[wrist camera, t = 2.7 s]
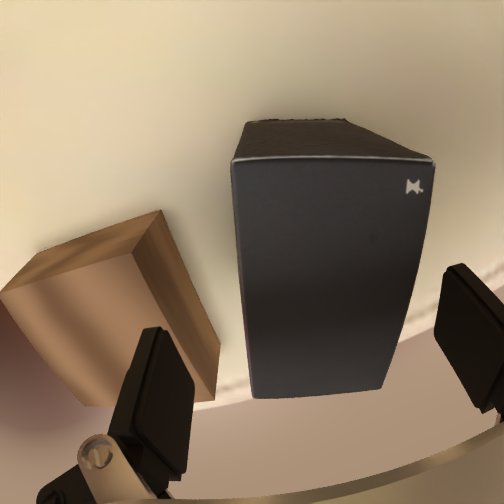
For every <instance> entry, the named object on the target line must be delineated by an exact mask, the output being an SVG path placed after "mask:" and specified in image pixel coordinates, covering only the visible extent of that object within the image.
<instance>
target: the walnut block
mask: <svg viewBox="0 0 504 504" xmlns="http://www.w3.org/2000/svg"><path fill="white" fill-rule="evenodd" d="M0 299H1V300H2V302H3V303H4V305H5V307H6V308H7V309H8V311H9V313H10V314H11V316H12V317H13V319H14V320H15V321H16V323H17V324H18V326H19V327H20V329H21V330H22V332H23V333H24V334H25V336H26V337H27V338H28V340H29V341H30V342H31V344H32V345H33V346H34V348H35V349H36V350H37V352H38V353H39V354H40V356H41V357H42V358H43V359H44V361H45V362H46V363H47V364H48V365H49V366H50V368H51V369H52V370H53V371H54V373H55V374H56V375H57V376H58V377H59V379H60V380H61V381H62V382H63V383H64V384H65V385H66V386H67V388H68V389H69V390H70V391H71V392H72V393H73V394H74V395H75V396H76V397H77V398H78V400H79V401H80V402H81V403H82V404H83V405H84V406H97V407H98V406H99V407H115V406H116V403H117V400H118V397H119V394H120V390H121V387H122V384H123V381H124V378H125V375H126V373H127V371H128V369H129V368H130V365H131V362H132V359H133V356H134V353H135V350H136V347H137V345H138V342H139V339H140V336H141V333H142V331H143V329H144V328H150V327H157V326H161V327H162V328H163V330H167V331H168V332H169V334H170V336H171V338H172V340H173V342H174V344H175V346H176V348H177V350H178V352H179V354H180V356H181V358H182V360H183V362H184V364H185V365H186V367H187V369H188V371H189V373H190V375H191V377H192V379H193V381H194V384H195V396H194V402H204V401H214V400H215V393H216V383H217V373H218V364H219V354H220V345H221V344H220V342H219V340H218V338H217V335H216V333H215V331H214V329H213V327H212V325H211V323H210V321H209V319H208V317H207V314H206V312H205V310H204V308H203V306H202V304H201V302H200V299H199V297H198V295H197V293H196V291H195V288H194V286H193V284H192V282H191V279H190V277H189V275H188V273H187V270H186V268H185V266H184V264H183V261H182V259H181V257H180V254H179V252H178V250H177V247H176V245H175V243H174V240H173V238H172V236H171V233H170V231H169V228H168V226H167V223H166V221H165V219H164V216H163V214H162V211H161V210H158V211H155V212H152V213H149V214H146V215H143V216H140V217H137V218H134V219H131V220H128V221H125V222H122V223H119V224H116V225H113V226H110V227H107V228H104V229H101V230H99V231H96V232H93V233H90V234H88V235H85V236H82V237H79V238H77V239H74V240H71V241H69V242H66V243H63V244H61V245H58V246H55V247H53V248H50V249H48V250H45V251H43V252H40V253H38V254H36V255H35V256H34V257H33V258H32V259H31V260H30V261H29V262H28V263H27V264H26V265H25V266H24V267H23V268H22V269H21V270H20V271H19V272H18V273H17V274H16V275H15V276H14V277H13V278H12V279H11V280H10V281H9V282H8V284H7V285H6V286H5V287H4V288H3V289H2V290H1V291H0Z"/></svg>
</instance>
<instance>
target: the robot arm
mask: <svg viewBox="0 0 504 504" xmlns="http://www.w3.org/2000/svg"><path fill="white" fill-rule="evenodd" d="M434 337H435V339H436V341H437V343H438V344H439V346H440V348H441V349H442V351H443V352H444V354H445V356H446V357H447V359H448V361H449V362H450V364H451V366H452V367H453V369H454V371H455V372H456V374H457V376H458V378H459V379H460V381H461V383H462V385H463V386H464V388H465V390H466V392H467V393H468V395H469V397H470V399H471V401H472V403H473V404H474V406H475V407H476V408H479V409H480V411H481V413H482V414H484V413H486V412H487V411H489V410H491V409H493V408H494V407H495V408H496V410H497V417H496V422H495V426H494V427H492V428H491V429H488V430H487V431H485V432H483V433H481V434H479V435H477V436H475V437H473V438H471V439H469V440H467V441H465V442H462V443H460V444H458V445H456V446H453V447H451V448H449V449H447V450H444V451H442V452H439V453H437V454H435V455H432V456H430V457H427V458H424V459H422V460H419V461H416V462H414V463H411V464H408V465H405V466H402V467H399V468H396V469H393V470H390V471H387V472H383V473H380V474H377V475H373V476H370V477H366V478H362V479H359V480H354V481H350V482H346V483H342V484H337V485H333V486H328V487H323V488H318V489H312V490H307V491H300V492H294V493H287V494H280V495H271V496H261V497H249V498H232V499H203V500H187V499H186V500H185V499H175V498H174V497H173V496H172V494H171V493H170V492H169V491H168V489H167V488H168V484H169V481H181V475H182V474H184V473H185V472H186V469H187V460H188V449H189V440H190V431H191V422H192V413H193V405H194V396H195V384H194V381H193V379H192V377H191V375H190V373H189V371H188V369H187V367H186V365H185V364H184V362H183V360H182V358H181V356H180V354H179V352H178V350H177V348H176V346H175V344H174V342H173V340H172V338H171V336H170V334H169V332H168V331H167V330H163V328H162V327H161V326H157V327H150V328H144V329H143V331H142V333H141V336H140V339H139V342H138V345H137V347H136V350H135V353H134V356H133V359H132V362H131V365H130V368H129V369H128V371H127V373H126V375H125V378H124V381H123V384H122V387H121V390H120V394H119V397H118V400H117V403H116V406H115V410H114V413H113V416H112V420H111V423H110V426H109V430H108V433H107V435H103V434H98V435H94V436H91V437H90V438H88V439H87V440H85V441H84V442H83V444H82V445H81V446H80V448H79V451H78V455H77V460H78V464H77V465H76V466H74V467H73V468H71V469H70V470H68V471H67V472H65V473H64V474H62V475H61V476H59V477H58V478H56V479H55V480H53V481H52V482H50V483H49V484H47V485H45V486H44V487H43V488H42V489H41V490H40V492H39V493H38V496H37V500H36V504H504V304H503V303H502V302H501V301H500V300H499V299H498V298H497V296H495V294H494V293H493V292H492V291H491V290H490V289H489V288H488V287H487V286H486V285H485V284H484V283H483V282H482V281H481V280H480V279H479V278H478V277H477V276H476V275H475V274H474V273H473V272H472V271H471V270H470V269H469V268H468V267H467V266H466V265H465V264H463V263H460V264H456V265H453V266H449V267H448V268H447V270H446V272H444V274H443V279H442V286H441V293H440V299H439V305H438V311H437V316H436V322H435V327H434Z"/></svg>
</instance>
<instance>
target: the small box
mask: <svg viewBox="0 0 504 504" xmlns="http://www.w3.org/2000/svg"><path fill="white" fill-rule="evenodd" d="M230 172H231V183H232V200H233V211H234V222H235V235H236V247H237V260H238V273H239V283H240V293H241V303H242V312H243V322H244V331H245V340H246V349H247V358H248V367H249V376H250V384H251V392H252V397H253V398H256V399H276V398H277V399H278V398H295V397H308V396H321V395H332V394H341V393H351V392H361V391H368V390H377V389H380V388H381V387H382V385H383V382H384V379H385V377H386V374H387V372H388V369H389V366H390V363H391V361H392V358H393V355H394V352H395V349H396V346H397V343H398V340H399V337H400V334H401V331H402V328H403V324H404V321H405V317H406V314H407V311H408V307H409V303H410V299H411V296H412V292H413V288H414V284H415V280H416V276H417V272H418V268H419V263H420V259H421V254H422V248H423V244H424V239H425V234H426V229H427V223H428V216H429V211H430V205H431V196H432V190H433V182H434V174H435V163H434V161H433V160H432V158H430V157H428V156H426V155H423V154H420V153H418V152H414V151H411V150H409V149H407V148H405V147H403V146H401V145H399V144H397V143H395V142H393V141H391V140H389V139H386V138H384V137H382V136H380V135H377V134H375V133H373V132H371V131H369V130H367V129H364V128H362V127H359V126H357V125H354V124H352V123H350V122H348V121H347V120H346V119H345V118H344V119H332V120H325V119H320V120H319V119H314V120H307V119H305V120H294V119H290V120H279V119H269V120H260V121H252V122H247V123H246V124H245V127H244V130H243V133H242V136H241V139H240V141H239V144H238V146H237V149H236V152H235V155H234V158H233V159H232V161H231V168H230Z"/></svg>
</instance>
